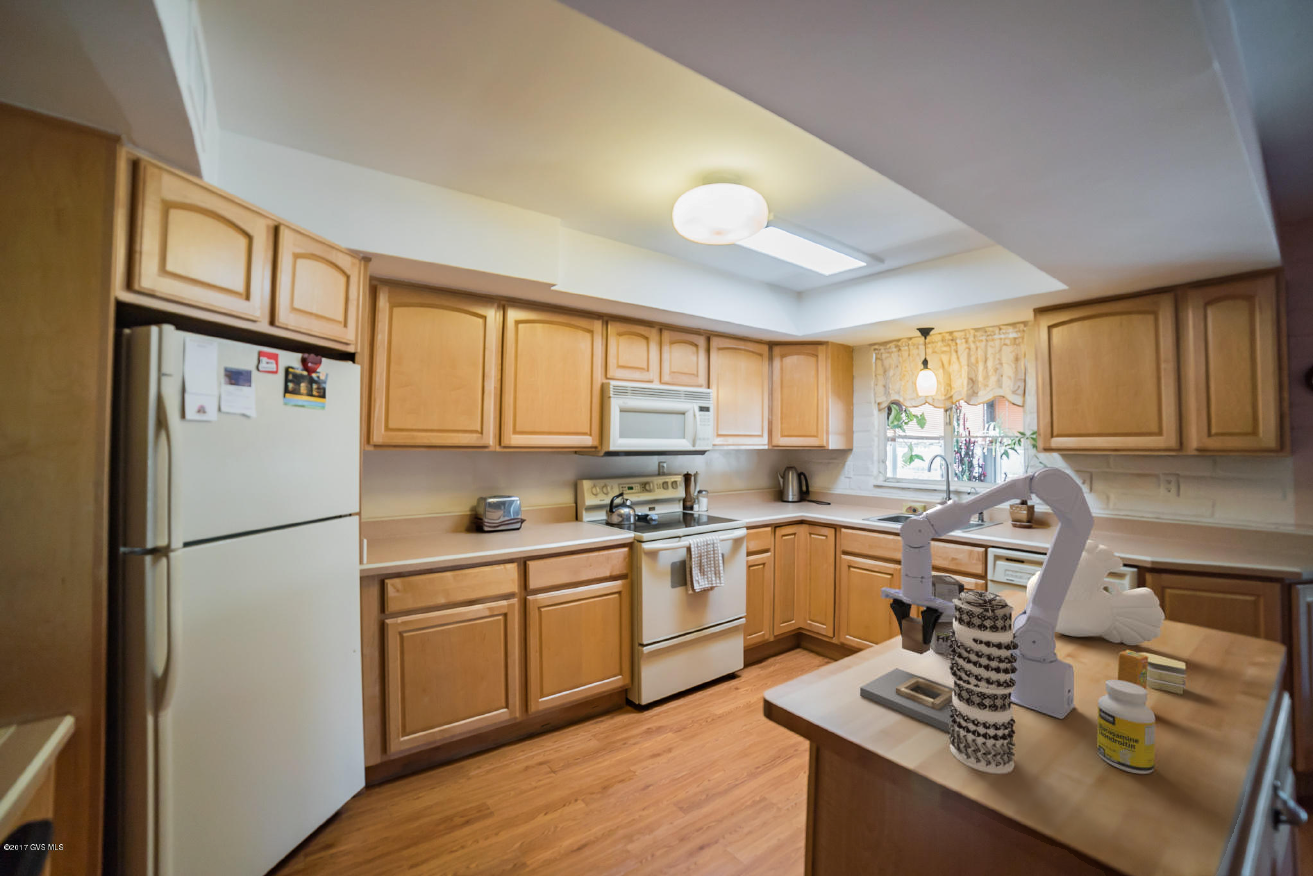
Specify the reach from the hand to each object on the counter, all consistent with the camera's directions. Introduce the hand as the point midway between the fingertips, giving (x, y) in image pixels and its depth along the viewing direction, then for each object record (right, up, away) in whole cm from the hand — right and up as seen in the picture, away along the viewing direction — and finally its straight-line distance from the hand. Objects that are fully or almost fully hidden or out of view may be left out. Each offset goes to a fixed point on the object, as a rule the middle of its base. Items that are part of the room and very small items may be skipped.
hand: (916, 639), depth 109 cm
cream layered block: (+47, -8, -4) cm, 48 cm away
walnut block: (0, -2, 0) cm, 2 cm away
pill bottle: (+17, -7, -30) cm, 35 cm away
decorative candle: (-4, -7, -29) cm, 30 cm away
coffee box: (+14, -8, +15) cm, 22 cm away
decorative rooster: (+54, -8, +21) cm, 58 cm away
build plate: (-4, -7, -12) cm, 15 cm away
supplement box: (+33, -8, -13) cm, 37 cm away
